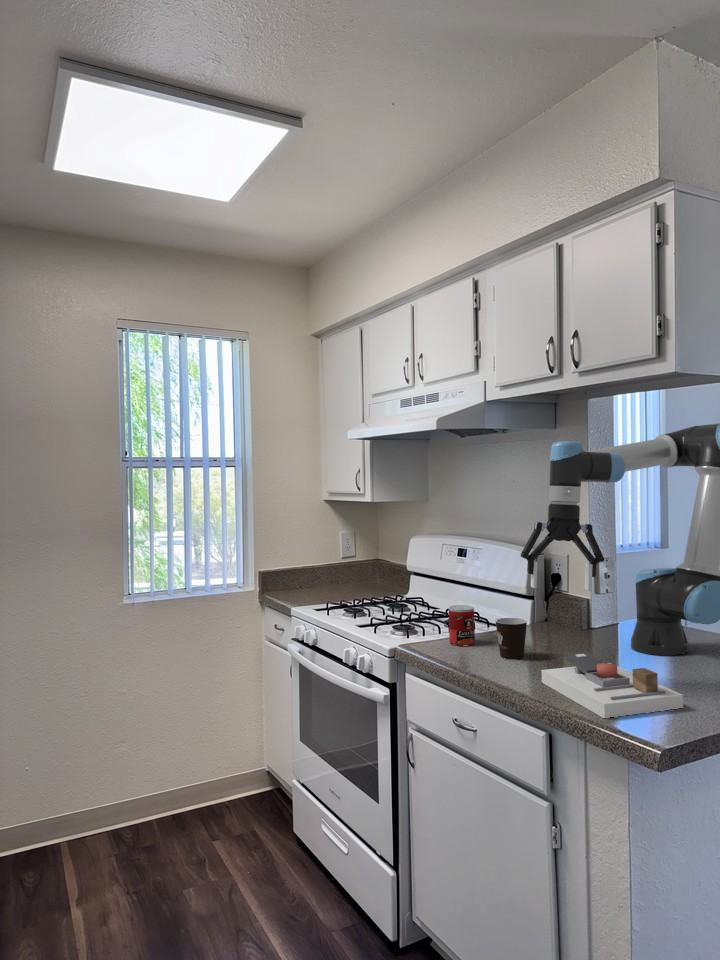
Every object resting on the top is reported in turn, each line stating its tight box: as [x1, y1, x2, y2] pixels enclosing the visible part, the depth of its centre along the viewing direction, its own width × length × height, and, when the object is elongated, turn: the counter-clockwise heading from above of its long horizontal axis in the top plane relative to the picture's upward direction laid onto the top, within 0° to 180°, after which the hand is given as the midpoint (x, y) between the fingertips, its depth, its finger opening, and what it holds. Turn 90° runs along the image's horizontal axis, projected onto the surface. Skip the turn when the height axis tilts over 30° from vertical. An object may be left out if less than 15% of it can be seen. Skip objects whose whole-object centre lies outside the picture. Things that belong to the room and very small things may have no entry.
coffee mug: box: [495, 617, 528, 660], centre depth 190 cm, size 12×9×10 cm
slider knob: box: [632, 667, 659, 693], centre depth 148 cm, size 3×4×4 cm
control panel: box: [541, 662, 684, 719], centre depth 154 cm, size 19×26×4 cm
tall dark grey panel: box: [566, 651, 603, 674], centre depth 162 cm, size 6×9×1 cm, turn 14°
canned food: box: [448, 604, 476, 646], centre depth 205 cm, size 8×8×11 cm
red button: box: [597, 662, 618, 677], centre depth 154 cm, size 4×4×2 cm
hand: (560, 588), depth 168 cm, fingers open, 13 cm apart
